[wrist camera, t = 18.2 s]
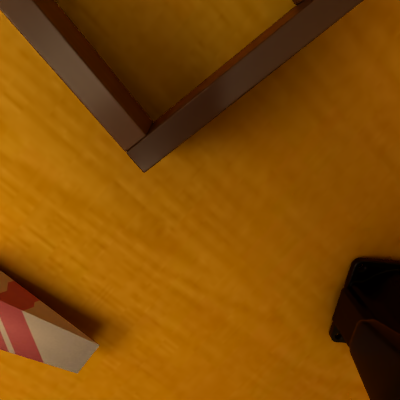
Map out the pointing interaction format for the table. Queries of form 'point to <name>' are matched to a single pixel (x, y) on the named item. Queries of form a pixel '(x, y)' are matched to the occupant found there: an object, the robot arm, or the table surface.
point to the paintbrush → (39, 330)
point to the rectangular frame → (189, 105)
